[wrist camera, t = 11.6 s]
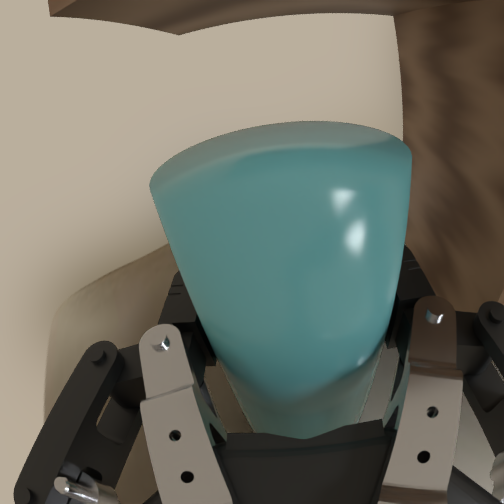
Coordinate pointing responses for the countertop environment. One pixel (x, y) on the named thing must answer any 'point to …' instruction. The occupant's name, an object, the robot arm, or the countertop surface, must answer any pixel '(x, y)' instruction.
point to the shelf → (406, 118)
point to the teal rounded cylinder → (291, 262)
